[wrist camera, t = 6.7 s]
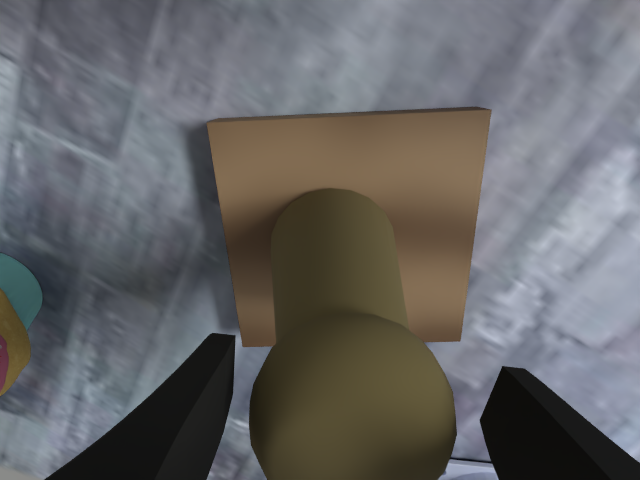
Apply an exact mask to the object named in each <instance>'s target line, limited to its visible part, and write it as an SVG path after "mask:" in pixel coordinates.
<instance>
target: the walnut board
mask: <svg viewBox="0 0 640 480" xmlns="http://www.w3.org/2000/svg"><path fill="white" fill-rule="evenodd" d="M490 117H491V110H490V109H485V108H480V107H460V108H438V109H416V110H394V111H372V112H350V113H328V114H305V115H283V116H261V117H239V118H217V119H215V120H212V121H210V122H207V128H208V135H209V141H210V147H211V153H212V159H213V166H214V172H215V178H216V184H217V190H218V197H219V203H220V209H221V215H222V221H223V228H224V234H225V240H226V246H227V252H228V259H229V265H230V271H231V277H232V284H233V290H234V296H235V302H236V308H237V315H238V321H239V327H240V333H241V339H242V346H243V347H264V346H274V345H275V344H276V334H275V318H274V301H273V284H272V267H271V234H272V231H273V229H274V227H275V224H276V222H277V220H278V217H279V216H280V215H281V214H282V213H283V212H284V211H285V209H286V208H287V207H288V206H289V205H290V204H291V203H292V202H294V201H295V200H297V199H299V198H301V197H302V196H304V195H306V194H308V193H310V192H314V191H319V190H324V189H328V188H334V189H345V190H352V191H354V192H357V193H359V194H362V195H364V196H366V197H369V198H370V199H371V200H373V201H374V202H375V203H376V204H377V205H378V206H379V207H380V208H381V209H383V210H384V212H385V213H386V215H387V217H388V219H389V221H390V223H391V225H392V226H393V231H394V238H395V244H396V250H397V257H398V263H399V269H400V275H401V282H402V288H403V294H404V300H405V307H406V313H407V319H408V326H409V331H411V332H412V333H413V334H415V335H416V336H417V337H419V338H420V339H421V340H422V341H423V342H453V341H460V340H461V333H462V325H463V318H464V310H465V303H466V296H467V288H468V281H469V273H470V266H471V258H472V251H473V243H474V236H475V229H476V221H477V214H478V206H479V199H480V191H481V184H482V176H483V169H484V162H485V154H486V147H487V139H488V132H489V124H490Z"/></svg>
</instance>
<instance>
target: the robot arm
mask: <svg viewBox="0 0 640 480" xmlns="http://www.w3.org/2000/svg"><path fill="white" fill-rule="evenodd" d="M234 359H235V335H227V334H218V333H212V334H210V335H209V336H208V337H207V338H206V339H205V340H204V341H203V342H202V343H201V344H200V346H199V347H198V348H197V349H196V350H195V351H194V352H193V353H192V354H191V355H190V356H189V357H188V358H187V359H186V360H185V362H184V363H183V364H182V365H181V366H180V367H179V368H178V369H177V370H176V371H175V372H174V373H173V374H172V375H171V376H170V377H169V378H168V379H166V380H165V381H164V382H163V383H162V384H161V385H160V386H159V387H158V388H157V389H156V390H155V391H154V392H153V393H152V394H151V395H150V396H149V397H148V398H146V399H145V400H144V401H143V402H142V403H141V404H140V405H139V406H137V407H136V408H135V409H134V410H133V411H132V412H131V413H129V414H128V415H127V416H126V417H125V418H124V419H123V420H122V421H120V422H119V423H118V424H117V425H116V426H114V427H113V428H112V429H111V430H110V431H108V432H107V433H106V434H105V435H103V436H102V437H101V438H100V439H98V440H97V441H96V442H95V443H93V444H92V445H91V446H89V447H88V448H87V449H85V450H84V451H83V452H82V453H80V454H79V455H78V456H76V457H75V458H74V459H72V460H71V461H70V462H68V463H67V464H65V465H64V466H63V467H61V468H60V469H58V470H57V471H56V472H54V473H53V474H52V475H50V476H49V477H47V478H46V479H45V480H206V479H207V477H208V474H209V471H210V468H211V466H212V463H213V460H214V457H215V454H216V452H217V449H218V446H219V443H220V440H221V438H222V435H223V432H224V428H225V424H226V420H227V416H228V412H229V408H230V404H231V400H232V396H233V382H234ZM480 424H481V427H482V431H483V435H484V439H485V442H486V446H487V449H488V452H489V456H490V459H491V462H492V464H490V463H481V462H471V461H462V460H453V459H450V460H449V462H448V465H447V467H446V470H445V472H444V473H443V475H442V476H441V477H440V478H439V479H438V480H640V463H639V462H638V461H636V460H635V459H634V458H633V457H631V456H630V455H629V454H628V453H626V452H625V451H624V450H623V449H621V448H620V447H619V446H618V445H616V444H615V443H614V442H613V441H612V440H610V439H609V438H608V437H607V436H605V435H604V434H603V433H602V432H601V431H599V430H598V429H597V428H596V427H595V426H593V425H592V424H591V423H590V422H589V421H587V420H586V419H585V418H584V417H583V416H582V415H580V414H579V413H578V412H577V411H576V410H574V409H573V408H572V407H571V406H570V405H569V404H567V403H566V402H565V401H564V400H563V399H561V398H560V397H559V396H558V395H557V394H556V393H554V392H553V391H552V390H551V389H550V388H548V387H547V386H546V385H545V384H544V383H542V382H541V381H540V380H539V379H537V378H536V377H535V376H534V375H532V374H531V373H530V372H528V371H527V370H526V369H523V368H514V367H505V366H502V369H501V371H500V373H499V376H498V378H497V380H496V383H495V385H494V388H493V390H492V392H491V395H490V397H489V399H488V402H487V404H486V407H485V409H484V411H483V414H482V416H481V419H480Z"/></svg>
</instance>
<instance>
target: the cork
mask: <svg viewBox="0 0 640 480" xmlns="http://www.w3.org/2000/svg"><path fill="white" fill-rule="evenodd" d="M271 267H272V284H273V301H274V318H275V334H276V344H275V345H274V346H273V347H272V349H271V350H270V352H269V354H268V356H267V358H266V360H265V362H264V364H263V366H262V368H261V370H260V372H259V374H258V376H257V378H256V380H255V382H254V384H253V389H252V394H251V399H250V410H249V430H250V440H251V446H252V448H253V451H254V453H255V455H256V457H257V459H258V462H259V464H260V466H261V468H262V470H263V472H264V474H265V476H266V478H267V480H438V479H439V478H440V477H441V476H442V475H443V473H444V472H445V470H446V467H447V465H448V462H449V460H450V457H451V455H452V451H453V447H454V444H455V440H456V436H457V429H456V416H455V407H454V398H453V391H452V389H451V387H450V385H449V382H448V380H447V378H446V376H445V373H444V372H443V370H442V368H441V366H440V365H439V363H438V361H437V360H436V358H435V356H434V355H433V353H432V352H431V350H430V349H429V348H428V347H427V346H426V345H425V343H424V342H423V341H422V340H421V339H420V338H419V337H417V336H416V335H415V334H413V333H412V332H411V331H409V326H408V319H407V313H406V307H405V300H404V294H403V288H402V282H401V275H400V269H399V263H398V257H397V250H396V244H395V238H394V231H393V226H392V225H391V223H390V221H389V219H388V217H387V215H386V213H385V212H384V210H383V209H381V208H380V207H379V206H378V205H377V204H376V203H375V202H374V201H373V200H371V199H370V198H369V197H366V196H364V195H362V194H359V193H357V192H354V191H352V190H345V189H334V188H328V189H324V190H319V191H314V192H310V193H308V194H306V195H304V196H302V197H301V198H299V199H297V200H295V201H294V202H292V203H291V204H290V205H289V206H288V207H287V208H286V209H285V211H284V212H283V213H282V214H281V215H280V216H279V217H278V220H277V222H276V224H275V227H274V229H273V231H272V234H271Z"/></svg>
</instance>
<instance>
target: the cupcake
mask: <svg viewBox="0 0 640 480" xmlns="http://www.w3.org/2000/svg"><path fill="white" fill-rule="evenodd" d="M41 305H42V291H41V288H40V285H39V283H38V281H37V279H36V278H35V276H34V275H33V274H32V273H31V272H30V270H29V269H28V268H26V267H25V266H24V265H23V264H22V263H20V262H19V261H17V260H16V259H14V258H12V257H10V256H8V255H5V254H2V253H0V396H1V395H2V394H4V393H5V392H6V391H7V390H8V389H9V388H10V387H11V386H12V384H13V383H14V382H15V380H16V379H17V377H18V376H19V374H20V372H21V371H22V370H23V368H24V367H25V366H26V365H27V364H28V362H29V360H30V357H31V346H30V341H29V338H28V334H27V330H28V328H29V326H30V325H31V323H32V321H33V320H34V318H35V317H36V315H37V313H38V312H39V310H40V308H41Z"/></svg>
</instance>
